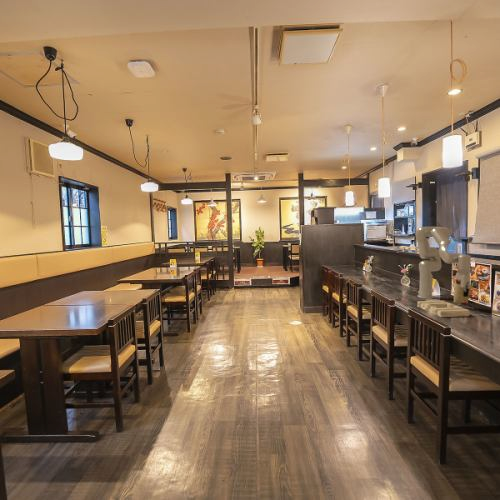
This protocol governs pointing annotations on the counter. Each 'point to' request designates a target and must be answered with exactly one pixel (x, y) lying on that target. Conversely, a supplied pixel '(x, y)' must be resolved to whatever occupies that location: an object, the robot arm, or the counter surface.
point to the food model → (460, 293)
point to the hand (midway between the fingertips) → (461, 295)
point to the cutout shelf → (443, 308)
